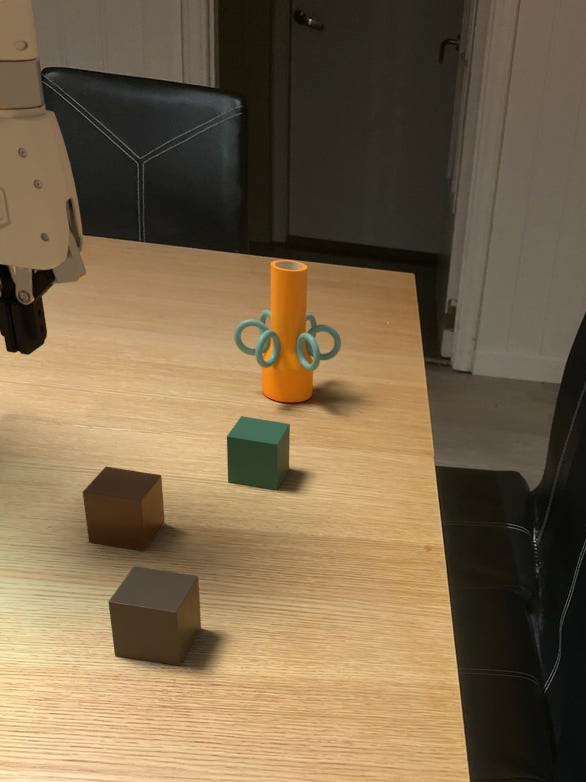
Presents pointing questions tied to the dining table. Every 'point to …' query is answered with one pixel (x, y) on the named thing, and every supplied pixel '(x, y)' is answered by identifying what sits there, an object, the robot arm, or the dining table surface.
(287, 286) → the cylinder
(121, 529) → the walnut block
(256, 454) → the teal block
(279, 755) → the dining table surface
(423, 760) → the dining table surface
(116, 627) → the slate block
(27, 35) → the robot arm
